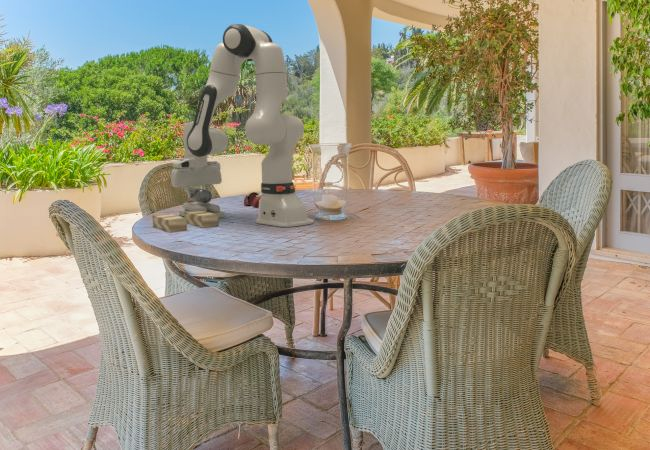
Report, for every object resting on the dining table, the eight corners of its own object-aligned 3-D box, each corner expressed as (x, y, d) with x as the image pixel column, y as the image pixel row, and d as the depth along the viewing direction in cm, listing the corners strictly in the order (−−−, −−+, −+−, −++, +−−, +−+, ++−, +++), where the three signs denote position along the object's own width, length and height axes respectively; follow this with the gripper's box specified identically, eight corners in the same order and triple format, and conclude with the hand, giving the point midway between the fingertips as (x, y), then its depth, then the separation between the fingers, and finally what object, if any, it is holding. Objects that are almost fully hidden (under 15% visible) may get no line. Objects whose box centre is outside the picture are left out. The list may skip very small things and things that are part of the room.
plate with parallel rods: (224, 216, 222) (223, 204, 221) (196, 220, 215) (195, 207, 214) (206, 212, 234) (206, 200, 234) (179, 215, 227) (178, 203, 226)
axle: (212, 202, 221) (211, 189, 220) (200, 203, 218) (199, 190, 217) (199, 199, 231) (198, 187, 230) (187, 200, 228) (186, 188, 227)
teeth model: (256, 194, 243) (241, 192, 252) (256, 208, 244) (242, 206, 253) (272, 193, 248) (257, 191, 257) (272, 207, 249) (258, 205, 258)
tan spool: (218, 225, 202) (218, 214, 201) (170, 232, 191) (169, 220, 191) (199, 220, 215) (198, 210, 214) (153, 226, 204) (152, 215, 203)
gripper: (216, 160, 231) (218, 194, 234) (168, 163, 219) (170, 198, 222) (223, 161, 226) (225, 195, 229) (174, 163, 214) (177, 200, 217)
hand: (197, 197), depth 225 cm, fingers closed on axle, 5 cm apart
